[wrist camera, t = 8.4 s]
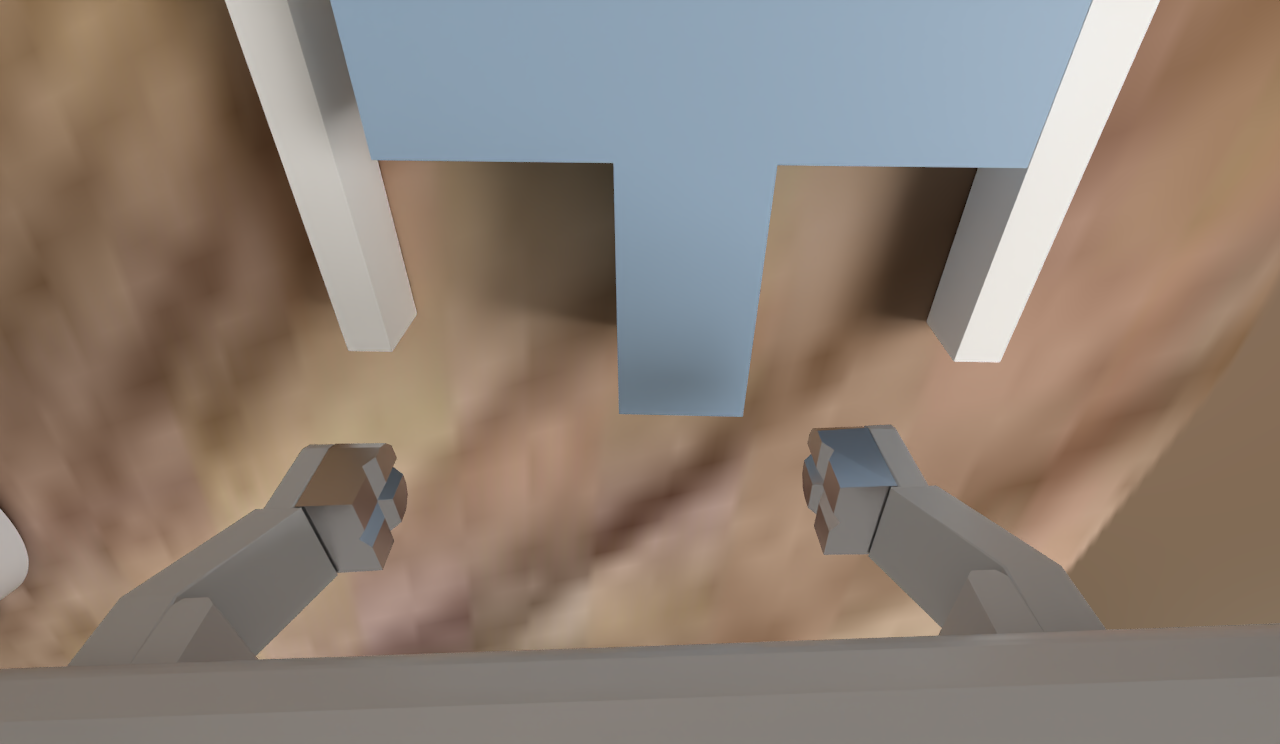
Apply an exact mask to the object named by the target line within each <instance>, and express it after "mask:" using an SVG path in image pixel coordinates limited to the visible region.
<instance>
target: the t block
mask: <svg viewBox="0 0 1280 744" xmlns="http://www.w3.org/2000/svg"><path fill="white" fill-rule="evenodd" d="M1091 1H1092V0H330V2H331V6H332V10H333V13H334V17H335V21H336V25H337V29H338V33H339V37H340V40H341V44H342V48H343V52H344V56H345V60H346V64H347V67H348V71H349V75H350V79H351V83H352V87H353V91H354V95H355V98H356V102H357V106H358V110H359V114H360V118H361V122H362V125H363V129H364V133H365V137H366V141H367V145H368V149H369V152H370V156H371V160H409V161H489V162H570V163H613V167H614V211H615V255H616V299H617V343H618V386H619V414H644V415H689V416H734V417H743V410H744V403H745V396H746V389H747V381H748V374H749V367H750V360H751V352H752V345H753V338H754V331H755V323H756V316H757V309H758V302H759V294H760V287H761V280H762V272H763V265H764V258H765V251H766V243H767V236H768V229H769V222H770V214H771V207H772V200H773V193H774V185H775V178H776V171H777V165H810V166H891V167H971V168H1027V167H1028V165H1029V162H1030V160H1031V157H1032V154H1033V152H1034V149H1035V147H1036V144H1037V141H1038V139H1039V136H1040V133H1041V131H1042V128H1043V126H1044V123H1045V120H1046V118H1047V115H1048V113H1049V110H1050V107H1051V105H1052V102H1053V100H1054V97H1055V94H1056V92H1057V89H1058V87H1059V84H1060V81H1061V79H1062V76H1063V74H1064V71H1065V68H1066V66H1067V63H1068V61H1069V58H1070V55H1071V53H1072V50H1073V48H1074V45H1075V42H1076V40H1077V37H1078V35H1079V32H1080V29H1081V27H1082V24H1083V22H1084V19H1085V16H1086V14H1087V11H1088V9H1089V6H1090V3H1091Z"/></svg>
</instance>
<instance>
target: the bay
mask: <svg viewBox="0 0 1280 744" xmlns="http://www.w3.org/2000/svg"><path fill="white" fill-rule="evenodd" d="M1159 1H1160V0H1092V1H1091V3H1090V6H1089V9H1088V11H1087V14H1086V16H1085V19H1084V22H1083V24H1082V27H1081V29H1080V32H1079V35H1078V37H1077V40H1076V42H1075V45H1074V48H1073V50H1072V53H1071V55H1070V58H1069V61H1068V63H1067V66H1066V68H1065V71H1064V74H1063V76H1062V79H1061V81H1060V84H1059V87H1058V89H1057V92H1056V94H1055V97H1054V100H1053V102H1052V105H1051V107H1050V110H1049V113H1048V115H1047V118H1046V120H1045V123H1044V126H1043V128H1042V131H1041V133H1040V136H1039V139H1038V141H1037V144H1036V147H1035V149H1034V152H1033V154H1032V157H1031V160H1030V162H1029V165H1028V167H1027V168H978V169H977V172H976V175H975V178H974V181H973V184H972V187H971V190H970V193H969V196H968V199H967V202H966V205H965V208H964V211H963V214H962V217H961V220H960V223H959V226H958V229H957V232H956V235H955V238H954V241H953V244H952V247H951V250H950V253H949V256H948V259H947V262H946V265H945V268H944V271H943V274H942V277H941V280H940V283H939V286H938V289H937V292H936V295H935V298H934V301H933V304H932V307H931V310H930V313H929V316H928V319H927V324H928V325H929V327H930V328H931V330H932V331H933V332H934V334H935V335H936V337H937V338H938V340H939V341H940V342H941V344H942V345H943V347H944V348H945V350H946V351H947V352H948V354H949V355H950V357H951V358H952V359H953V361H955V362H1000V361H1001V359H1002V357H1003V354H1004V352H1005V350H1006V347H1007V345H1008V343H1009V341H1010V338H1011V336H1012V334H1013V332H1014V329H1015V327H1016V325H1017V323H1018V320H1019V318H1020V316H1021V314H1022V311H1023V309H1024V307H1025V304H1026V302H1027V300H1028V298H1029V295H1030V293H1031V291H1032V289H1033V286H1034V284H1035V282H1036V280H1037V277H1038V275H1039V273H1040V271H1041V268H1042V266H1043V264H1044V262H1045V259H1046V257H1047V255H1048V252H1049V250H1050V248H1051V246H1052V243H1053V241H1054V239H1055V237H1056V234H1057V232H1058V230H1059V228H1060V225H1061V223H1062V221H1063V219H1064V216H1065V214H1066V212H1067V209H1068V207H1069V205H1070V203H1071V200H1072V198H1073V196H1074V194H1075V191H1076V189H1077V187H1078V185H1079V182H1080V180H1081V178H1082V176H1083V173H1084V171H1085V169H1086V167H1087V164H1088V162H1089V160H1090V157H1091V155H1092V153H1093V151H1094V148H1095V146H1096V144H1097V142H1098V139H1099V137H1100V135H1101V133H1102V130H1103V128H1104V126H1105V124H1106V121H1107V119H1108V117H1109V114H1110V112H1111V110H1112V108H1113V105H1114V103H1115V101H1116V99H1117V96H1118V94H1119V92H1120V90H1121V87H1122V85H1123V83H1124V81H1125V78H1126V76H1127V74H1128V72H1129V69H1130V67H1131V65H1132V62H1133V60H1134V58H1135V56H1136V53H1137V51H1138V49H1139V47H1140V44H1141V42H1142V40H1143V38H1144V35H1145V33H1146V31H1147V29H1148V26H1149V24H1150V22H1151V19H1152V17H1153V15H1154V13H1155V10H1156V8H1157V6H1158V4H1159ZM225 2H226V5H227V8H228V11H229V14H230V16H231V19H232V22H233V25H234V28H235V31H236V33H237V36H238V39H239V42H240V45H241V48H242V50H243V53H244V56H245V59H246V62H247V65H248V67H249V70H250V73H251V76H252V79H253V82H254V85H255V87H256V90H257V93H258V96H259V99H260V102H261V104H262V107H263V110H264V113H265V116H266V119H267V121H268V124H269V127H270V130H271V133H272V136H273V138H274V141H275V144H276V147H277V150H278V153H279V155H280V158H281V161H282V164H283V167H284V170H285V172H286V175H287V178H288V181H289V184H290V187H291V189H292V192H293V195H294V198H295V201H296V204H297V206H298V209H299V212H300V215H301V218H302V221H303V223H304V226H305V229H306V232H307V235H308V238H309V240H310V243H311V246H312V249H313V252H314V255H315V257H316V260H317V263H318V266H319V269H320V272H321V274H322V277H323V280H324V283H325V286H326V289H327V291H328V294H329V297H330V300H331V303H332V306H333V308H334V311H335V314H336V317H337V320H338V323H339V325H340V328H341V331H342V334H343V337H344V340H345V342H346V345H347V348H348V351H379V352H392V351H393V350H394V348H395V347H396V345H397V344H398V342H399V341H400V339H401V338H402V336H403V335H404V333H405V332H406V330H407V329H408V327H409V326H410V324H411V323H412V321H413V320H414V318H415V317H416V315H417V311H416V307H415V303H414V300H413V296H412V292H411V288H410V284H409V280H408V276H407V272H406V269H405V265H404V261H403V257H402V253H401V249H400V245H399V241H398V238H397V234H396V230H395V226H394V222H393V218H392V214H391V210H390V207H389V203H388V199H387V195H386V191H385V187H384V183H383V179H382V176H381V172H380V168H379V164H378V160H371V156H370V152H369V149H368V145H367V141H366V137H365V133H364V129H363V125H362V122H361V118H360V114H359V110H358V106H357V102H356V98H355V95H354V91H353V87H352V83H351V79H350V75H349V71H348V67H347V64H346V60H345V56H344V52H343V48H342V44H341V40H340V37H339V33H338V29H337V25H336V21H335V17H334V13H333V10H332V6H331V2H330V0H225Z"/></svg>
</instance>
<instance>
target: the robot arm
mask: <svg viewBox="0 0 1280 744" xmlns="http://www.w3.org/2000/svg"><path fill="white" fill-rule="evenodd" d="M808 446H809V449H810V452H811V455H810V456H809V457H808V458H806V459H805V460H804V466H803V472H802V477H803V491H804V496H805V500H806V503H807V506H808V508H809V509H810V510H812V511H813V512H814V513H815V514H816V519H815V524H814V527H815V530H816V533H817V536H818V539H819V542H820V545H821V548H822V551H823V554H824V555H829V554H869V557H870V558H871V559H872V560H873V561H874V562H875V563H876V564H877V565H878V566H879V567H880V568H881V569H882V570H883V571H884V572H885V573H886V574H887V575H888V576H889V577H890V578H891V579H892V580H893V581H894V582H895V583H896V584H897V585H898V586H899V587H900V588H902V589H903V590H904V591H905V592H906V593H907V594H908V595H909V596H910V597H911V598H912V599H913V600H914V601H915V602H916V603H917V604H918V605H919V606H920V607H921V608H922V609H923V610H924V611H925V612H926V613H927V614H928V615H929V616H930V617H931V618H932V619H933V620H934V621H935V622H936V623H937V624H938V625H939V626H941V627H942V629H941V631H940V633H939V635H938V636H917V637H888V638H859V639H830V640H802V641H774V642H747V643H720V644H692V645H665V646H637V647H608V648H579V649H550V650H520V651H491V652H463V653H434V654H406V655H377V656H349V657H320V658H292V659H264V660H258V658H257V657H256V655H257V654H258V653H259V652H260V651H261V650H262V649H263V648H264V647H265V646H266V645H267V644H268V643H269V642H270V641H271V640H272V639H273V638H274V637H276V636H277V635H278V634H279V633H280V632H281V631H282V630H283V629H284V628H285V627H286V626H287V625H288V624H289V623H290V622H291V621H292V620H293V619H294V618H295V617H296V616H297V615H298V614H299V613H300V612H301V611H302V610H303V609H304V608H305V607H306V606H307V605H308V604H309V603H310V602H311V601H312V600H313V599H314V598H315V597H316V596H317V595H318V594H319V593H320V592H321V591H322V590H323V589H324V588H325V587H326V586H327V585H328V584H329V583H330V582H331V581H332V580H333V579H334V578H335V577H336V576H337V573H341V572H357V571H373V570H383V568H384V565H385V563H386V560H387V558H388V555H389V553H390V550H391V548H392V545H393V543H394V539H393V536H392V534H391V532H390V531H391V530H392V529H393V528H395V527H396V526H397V525H398V524H399V523H401V522H402V519H403V516H404V514H405V511H406V505H407V496H408V493H407V486H406V482H405V479H404V476H403V474H402V473H400V472H399V471H398V470H396V469H395V468H394V467H393V465H394V463H395V461H396V459H397V457H396V455H395V453H394V450H393V448H392V446H391V445H389V444H386V443H366V444H335V445H332V444H329V445H308V446H307V447H305V448H303V449H302V450H301V452H300V453H299V455H298V456H297V458H296V460H295V461H294V463H293V464H292V466H291V467H290V469H289V470H288V472H287V473H286V475H285V477H284V478H283V480H282V481H281V483H280V484H279V486H278V487H277V489H276V490H275V492H274V493H273V495H272V497H271V498H270V500H269V501H268V503H267V504H266V506H265V507H264V509H255V510H254V511H252V512H250V513H249V514H247V515H246V516H244V517H243V518H241V519H240V520H238V521H237V522H235V523H234V524H232V525H231V526H229V527H228V528H226V529H225V530H223V531H221V532H220V533H218V534H217V535H215V536H214V537H212V538H211V539H209V540H208V541H206V542H205V543H203V544H202V545H200V546H199V547H197V548H196V549H194V550H193V551H191V552H189V553H188V554H186V555H185V556H183V557H182V558H180V559H179V560H177V561H176V562H174V563H173V564H171V565H170V566H168V567H167V568H165V569H164V570H162V571H160V572H159V573H157V574H156V575H154V576H153V577H151V578H150V579H148V580H147V581H145V582H144V583H142V584H141V585H139V586H138V587H136V588H135V589H133V590H132V591H130V592H128V593H127V594H125V595H124V596H122V597H121V598H120V599H119V600H118V601H117V603H116V604H115V605H114V607H113V608H112V609H111V610H110V612H109V613H108V614H107V616H106V617H105V618H104V619H103V621H102V622H101V623H100V624H99V626H98V627H97V628H96V630H95V631H94V632H93V633H92V635H91V636H90V637H89V639H88V640H87V641H86V642H85V644H84V645H83V646H82V648H81V649H80V650H79V651H78V653H77V654H76V655H75V657H74V658H73V659H72V660H71V662H70V663H69V664H68V666H65V667H36V668H9V669H0V744H1280V624H1258V625H1257V624H1256V625H1228V626H1201V627H1175V628H1174V627H1173V628H1148V629H1147V628H1146V629H1120V630H1119V629H1117V630H1106V629H1105V627H1104V626H1103V625H1102V623H1101V622H1100V620H1099V619H1098V617H1097V616H1096V615H1095V613H1094V612H1093V610H1092V609H1091V608H1090V606H1089V605H1088V603H1087V602H1086V601H1085V599H1084V597H1083V596H1082V595H1081V593H1080V592H1079V590H1078V589H1077V588H1076V587H1075V585H1074V583H1073V582H1072V580H1071V579H1070V578H1069V576H1068V575H1067V573H1066V572H1065V571H1064V569H1063V568H1062V566H1061V565H1059V564H1057V563H1056V562H1054V561H1053V560H1051V559H1050V558H1048V557H1047V556H1045V555H1043V554H1042V553H1040V552H1039V551H1037V550H1036V549H1034V548H1033V547H1031V546H1029V545H1028V544H1026V543H1025V542H1023V541H1022V540H1020V539H1019V538H1017V537H1016V536H1014V535H1012V534H1011V533H1009V532H1008V531H1006V530H1005V529H1003V528H1002V527H1000V526H998V525H997V524H995V523H994V522H992V521H991V520H989V519H988V518H986V517H984V516H983V515H981V514H980V513H978V512H977V511H975V510H974V509H972V508H970V507H969V506H967V505H966V504H964V503H963V502H961V501H960V500H958V499H956V498H955V497H953V496H952V495H950V494H949V493H947V492H946V491H944V490H942V489H941V488H939V487H938V486H928V484H927V482H926V480H925V479H924V477H923V475H922V473H921V472H920V470H919V468H918V466H917V465H916V463H915V461H914V460H913V458H912V456H911V454H910V453H909V451H908V449H907V447H906V446H905V444H904V442H903V440H902V439H901V437H900V435H899V434H898V432H897V430H896V428H895V427H893V426H892V425H873V426H864V427H862V426H859V427H835V428H813V429H812V430H811V432H810V434H809V439H808ZM28 566H29V562H28V555H27V551H26V548H25V545H24V543H23V541H22V538H21V536H20V535H19V533H18V531H17V530H16V528H15V527H14V525H13V524H12V522H11V521H10V520H9V519H8V517H7V516H6V515H5V514H4V512H3V511H2V510H1V509H0V600H1V599H3V598H4V597H6V596H7V595H8V594H10V593H11V592H13V591H14V590H15V589H16V588H18V587H19V586H20V585H21V584H22V582H23V581H24V579H25V578H26V575H27V572H28Z"/></svg>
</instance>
